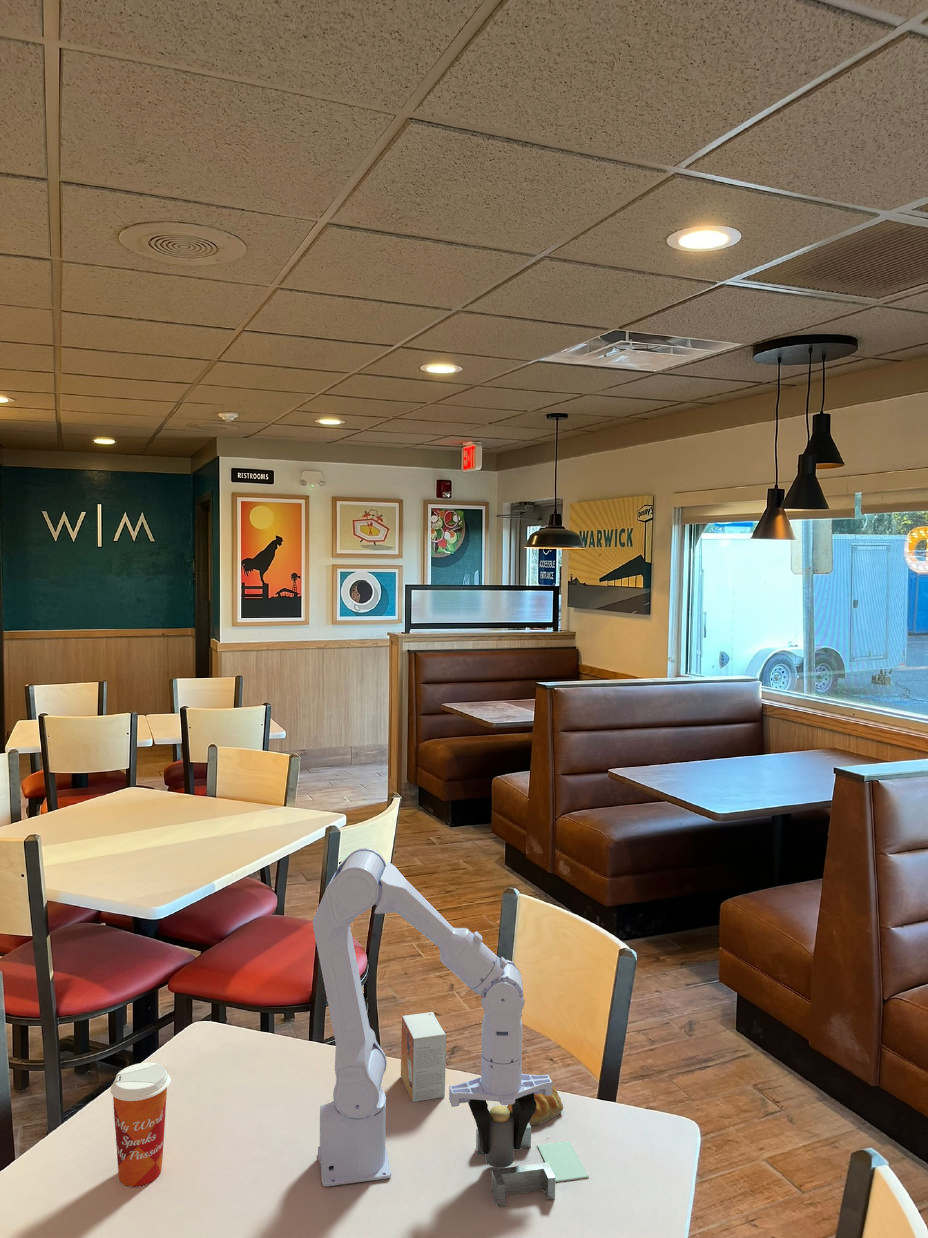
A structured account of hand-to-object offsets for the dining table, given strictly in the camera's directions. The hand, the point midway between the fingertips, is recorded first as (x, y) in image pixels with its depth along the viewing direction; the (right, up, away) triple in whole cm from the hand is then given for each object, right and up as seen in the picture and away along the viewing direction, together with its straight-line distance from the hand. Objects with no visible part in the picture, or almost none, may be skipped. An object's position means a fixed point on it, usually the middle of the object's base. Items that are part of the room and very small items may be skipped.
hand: (500, 1148), depth 125 cm
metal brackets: (+2, -3, +1) cm, 4 cm away
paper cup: (-50, -3, -2) cm, 50 cm away
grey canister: (0, -2, 0) cm, 2 cm away
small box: (-12, -3, +21) cm, 24 cm away
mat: (+9, -3, +2) cm, 10 cm away
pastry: (+6, -3, +14) cm, 15 cm away
